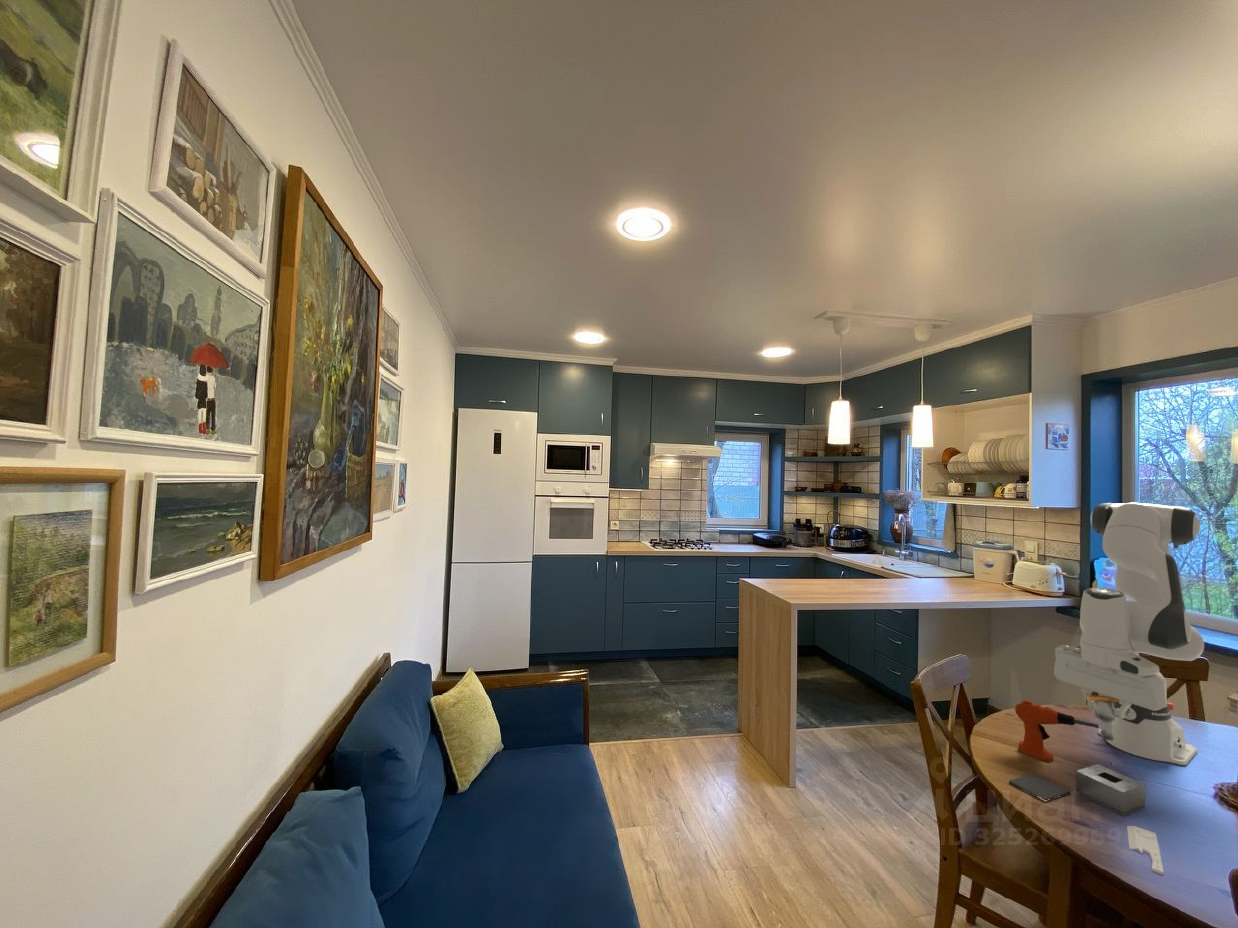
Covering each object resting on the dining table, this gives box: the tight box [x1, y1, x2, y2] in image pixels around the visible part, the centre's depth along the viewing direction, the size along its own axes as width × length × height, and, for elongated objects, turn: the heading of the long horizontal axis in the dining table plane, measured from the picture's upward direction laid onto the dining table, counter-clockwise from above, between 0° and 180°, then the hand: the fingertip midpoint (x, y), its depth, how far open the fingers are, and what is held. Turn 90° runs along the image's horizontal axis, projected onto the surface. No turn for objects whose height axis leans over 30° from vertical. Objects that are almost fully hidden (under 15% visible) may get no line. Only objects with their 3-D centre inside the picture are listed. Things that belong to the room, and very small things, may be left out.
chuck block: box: [1075, 763, 1146, 817], centre depth 121 cm, size 9×9×6 cm
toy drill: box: [1014, 699, 1100, 762], centre depth 137 cm, size 5×19×15 cm, turn 34°
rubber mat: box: [1008, 772, 1071, 800], centre depth 125 cm, size 10×8×1 cm
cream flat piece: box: [1126, 825, 1165, 875], centre depth 105 cm, size 5×15×1 cm, turn 136°
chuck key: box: [1088, 694, 1118, 741], centre depth 121 cm, size 4×6×10 cm, turn 76°
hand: (1106, 712), depth 122 cm, fingers closed on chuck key, 4 cm apart
